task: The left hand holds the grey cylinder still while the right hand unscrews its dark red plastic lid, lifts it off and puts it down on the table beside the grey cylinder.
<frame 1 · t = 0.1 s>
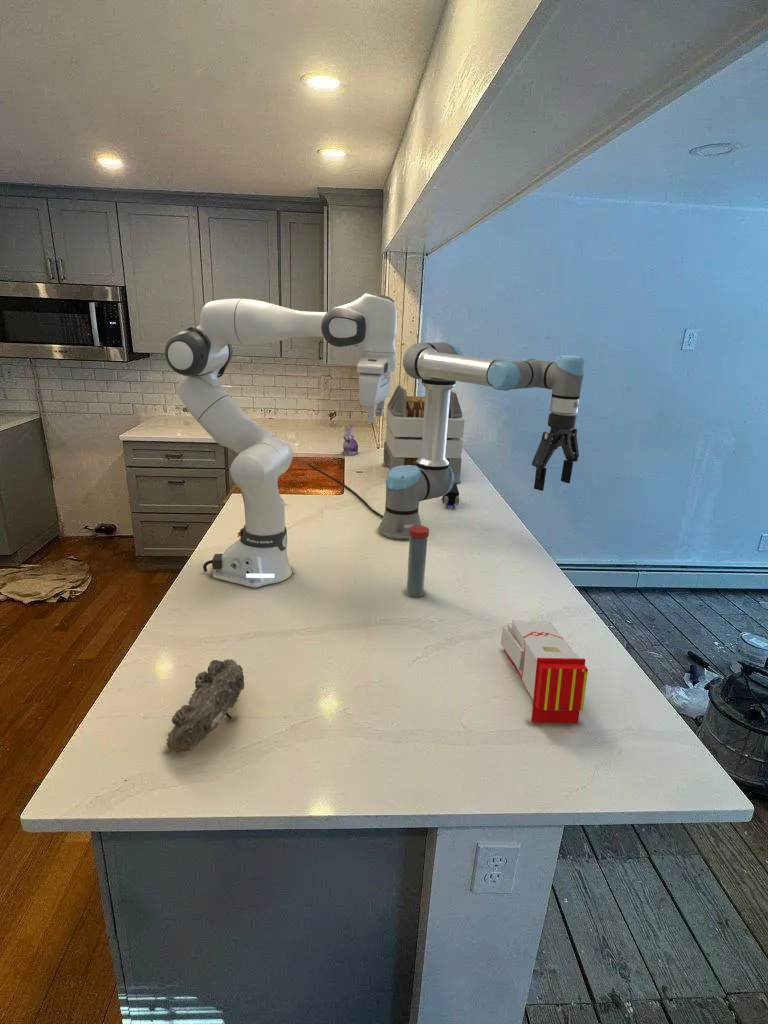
left hand: (375, 419, 145), 48 cm above the counter, tool pointing down, fingers open, 8 cm apart
right hand: (552, 485, 166), 28 cm above the counter, tool pointing down, fingers open, 13 cm apart
figurine character: (449, 504, 232), on the counter
toy: (534, 680, 123), on the counter
figurine: (350, 453, 305), on the counter
grey cylinder: (414, 593, 159), on the counter
fossil: (212, 717, 108), on the counter
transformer: (419, 473, 275), on the counter
lid: (419, 530, 152), point 19 cm above the counter, screwed on, not yet turned
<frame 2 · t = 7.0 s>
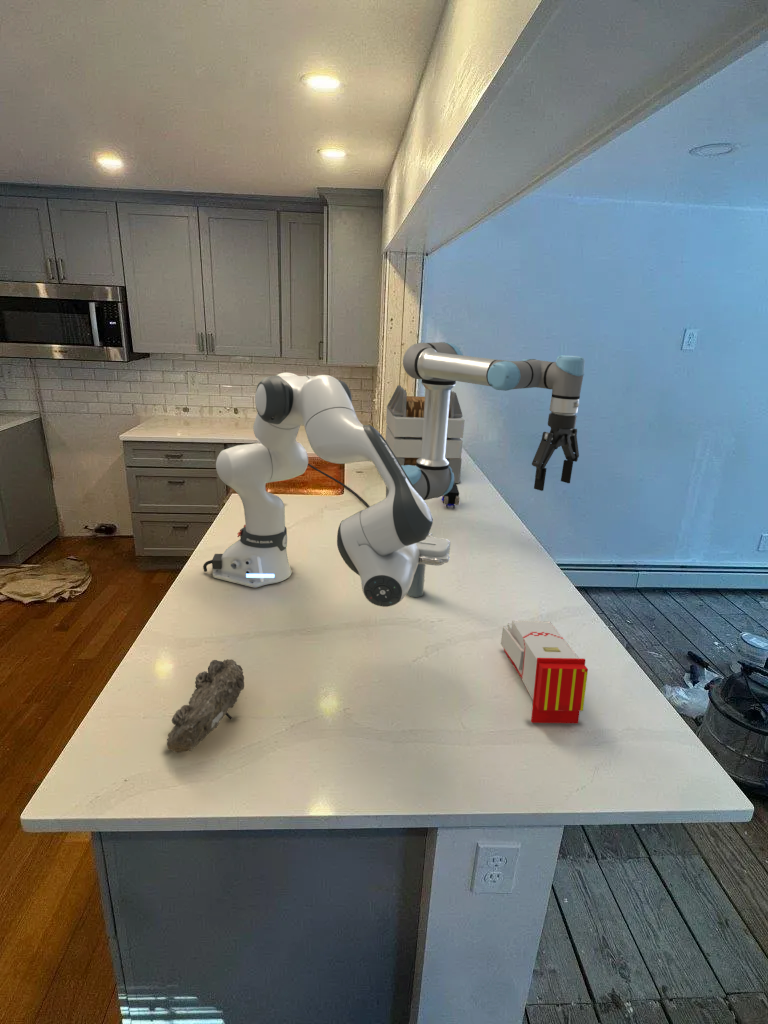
left hand: (408, 533, 129), 27 cm above the counter, tool horizontal, fingers open, 8 cm apart
right hand: (552, 485, 166), 28 cm above the counter, tool pointing down, fingers open, 13 cm apart
nothing on the counter moved.
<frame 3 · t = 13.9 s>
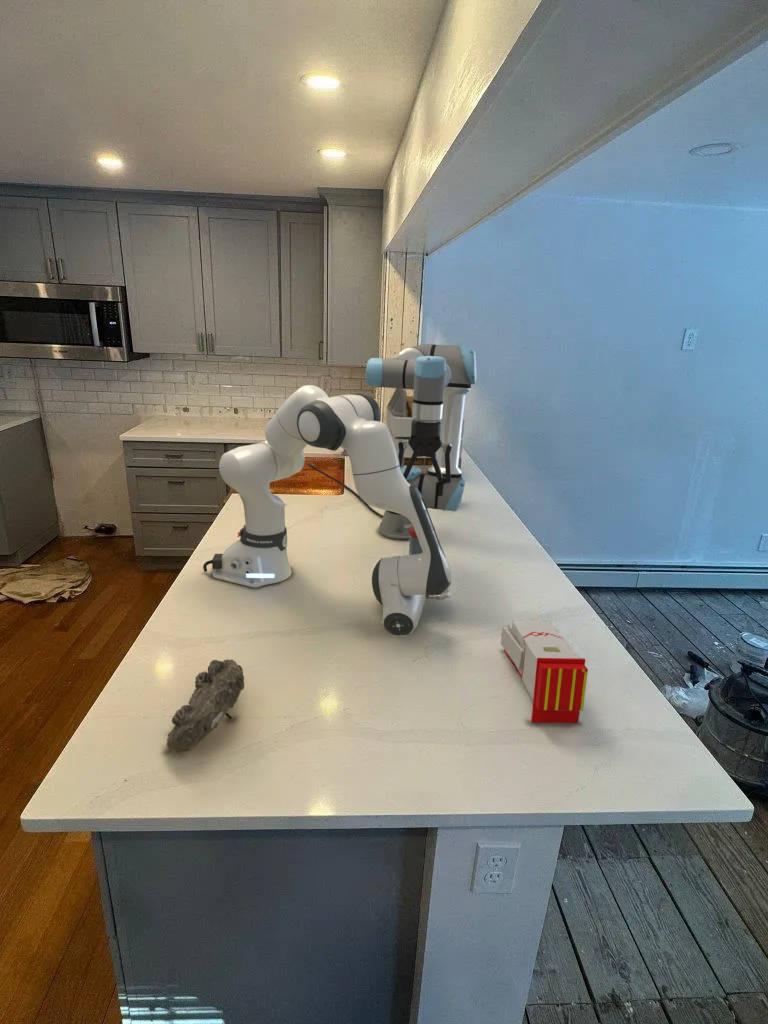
left hand: (416, 571, 157), 6 cm above the counter, tool horizontal, fingers closed on grey cylinder, 5 cm apart
right hand: (420, 505, 150), 26 cm above the counter, tool pointing down, fingers open, 7 cm apart
grey cylinder: (414, 593, 159), on the counter, touching left hand
everything else where it was.
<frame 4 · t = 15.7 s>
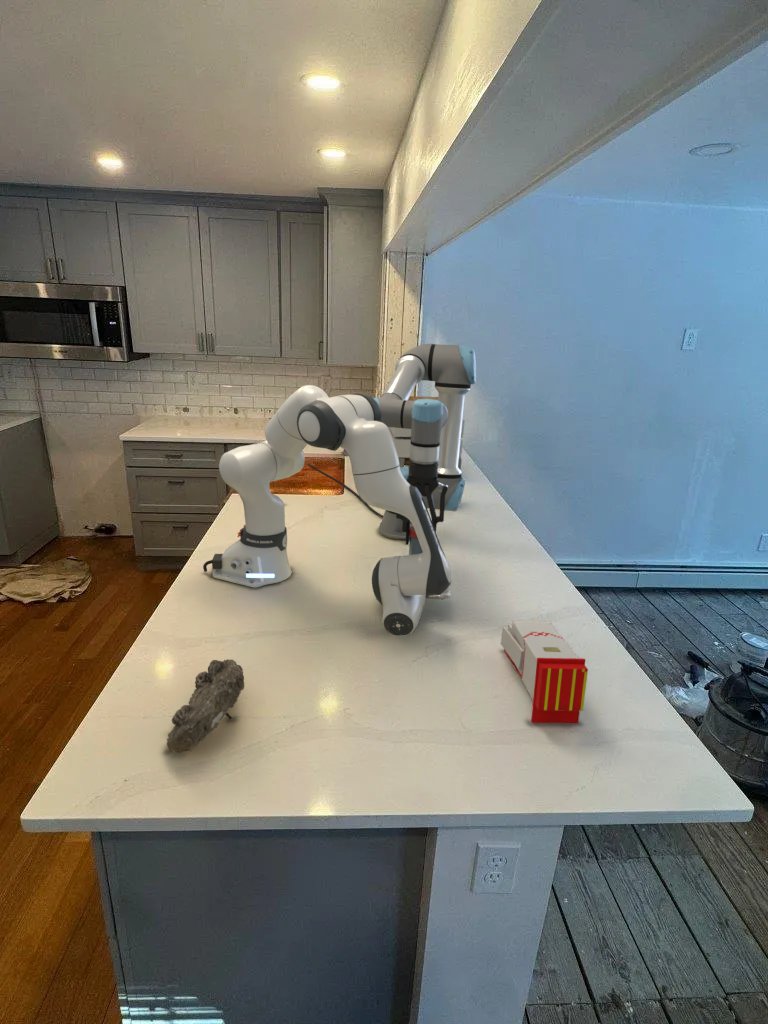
left hand: (416, 571, 157), 6 cm above the counter, tool horizontal, fingers closed on grey cylinder, 5 cm apart
right hand: (418, 543, 154), 15 cm above the counter, tool pointing down, fingers closed on lid, 5 cm apart
grey cylinder: (414, 593, 159), on the counter, touching left hand
lid: (419, 530, 152), point 19 cm above the counter, screwed on, not yet turned, touching right hand
everything else where it was.
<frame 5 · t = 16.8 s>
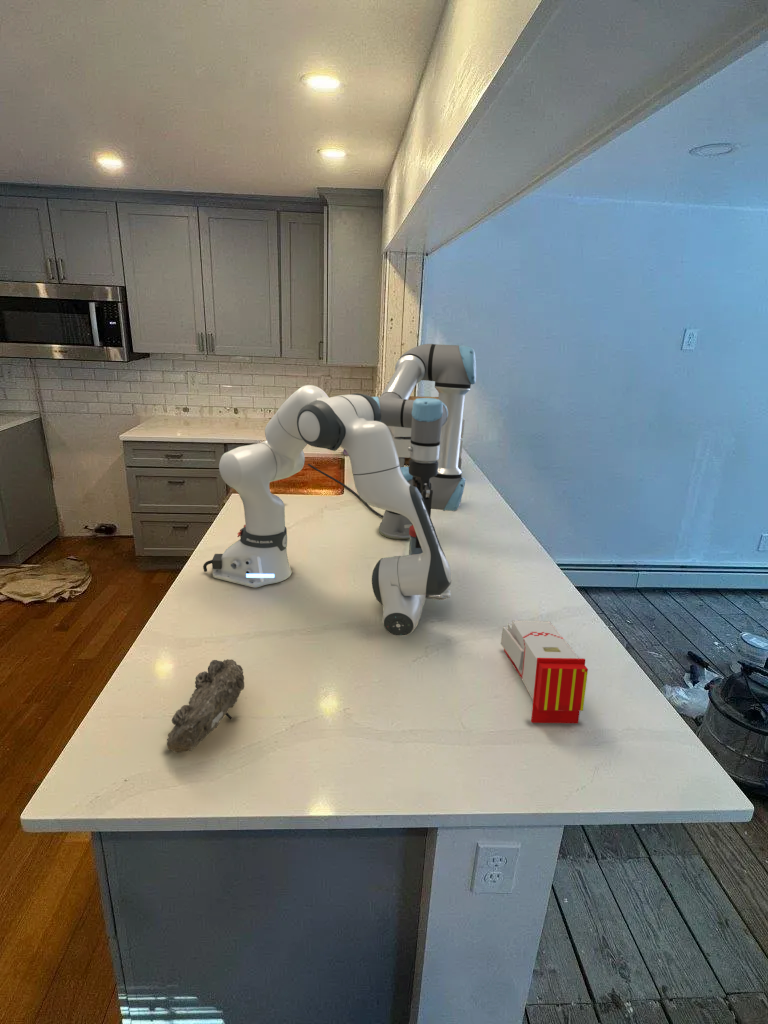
left hand: (416, 571, 157), 6 cm above the counter, tool horizontal, fingers closed on grey cylinder, 5 cm apart
right hand: (418, 542, 154), 15 cm above the counter, tool pointing down, fingers closed on lid, 5 cm apart
grey cylinder: (414, 593, 159), on the counter, touching left hand
lid: (419, 529, 152), point 19 cm above the counter, off its thread, touching right hand
everything else where it was.
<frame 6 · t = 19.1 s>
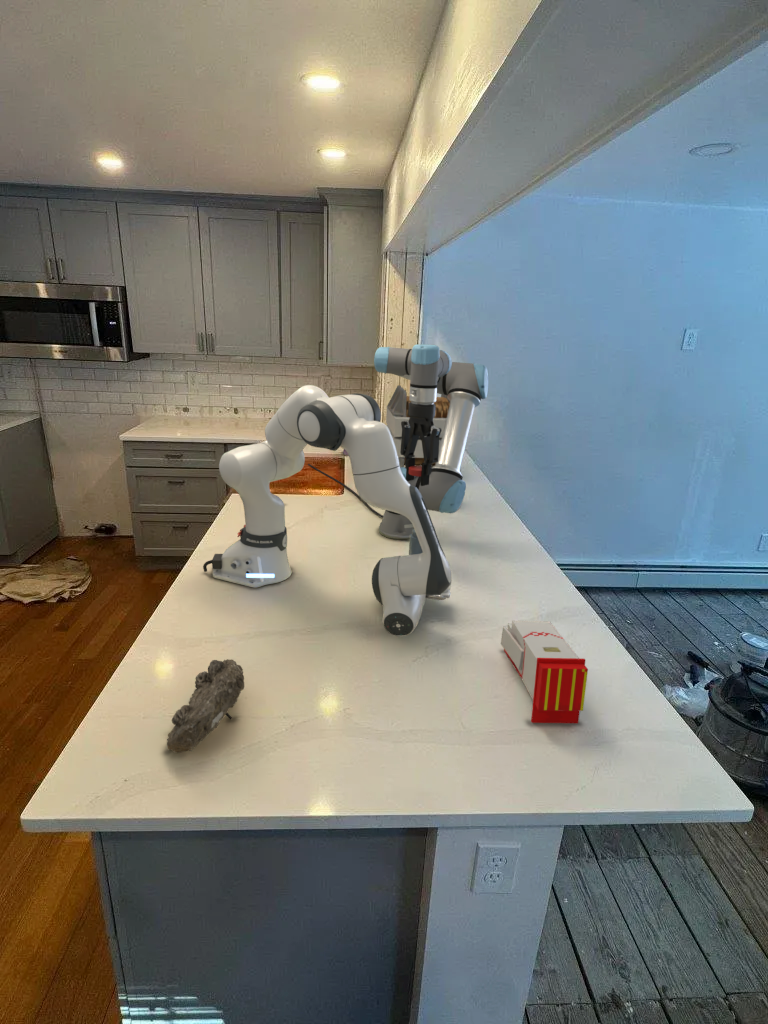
left hand: (416, 571, 157), 6 cm above the counter, tool horizontal, fingers closed on grey cylinder, 5 cm apart
right hand: (417, 482, 165), 27 cm above the counter, tool pointing down, fingers closed on lid, 5 cm apart
grey cylinder: (414, 593, 159), on the counter, touching left hand
lid: (417, 469, 164), point 31 cm above the counter, off its thread, touching right hand
everything else where it was.
when the right hand's fingers open (0 cm above the counter, at t = 23.8 s): lid drops 3 cm, point 1 cm above the counter.
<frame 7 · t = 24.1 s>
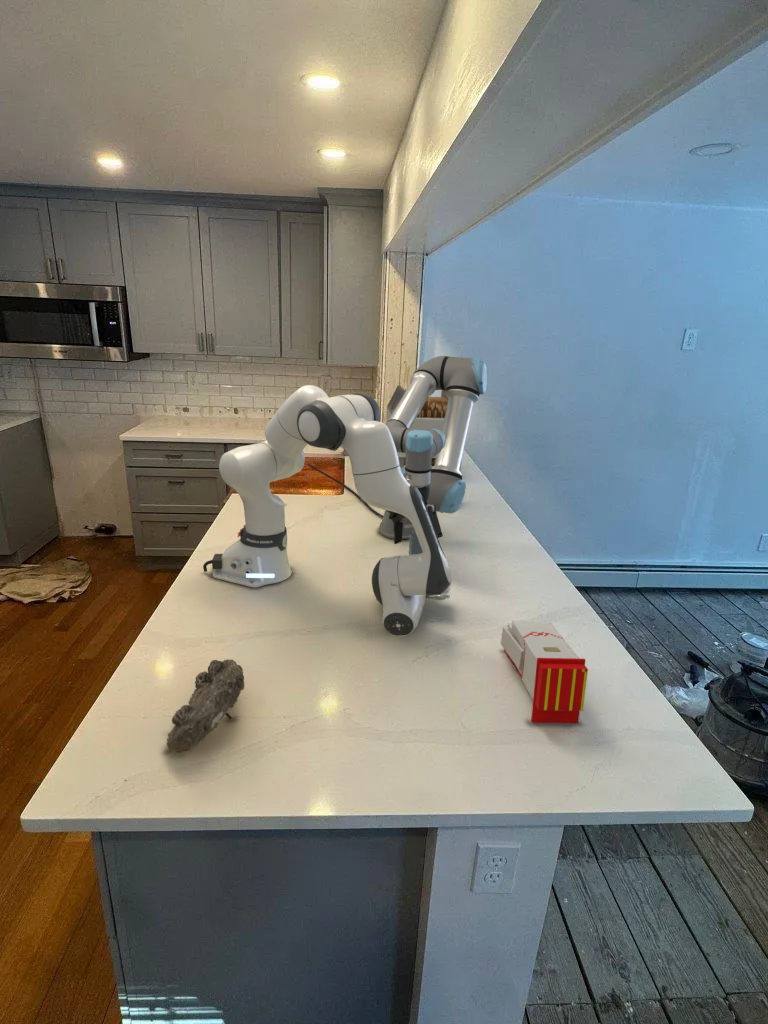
left hand: (416, 571, 157), 6 cm above the counter, tool horizontal, fingers closed on grey cylinder, 5 cm apart
right hand: (413, 549, 173), 6 cm above the counter, tool pointing down, fingers open, 13 cm apart
grey cylinder: (414, 593, 159), on the counter, touching left hand
lid: (411, 563, 174), point 1 cm above the counter, off its thread
everything else where it was.
when the left hand's fingers open (6 cm above the counter, at t = 24.4 s): grey cylinder stays where it is, on the counter.
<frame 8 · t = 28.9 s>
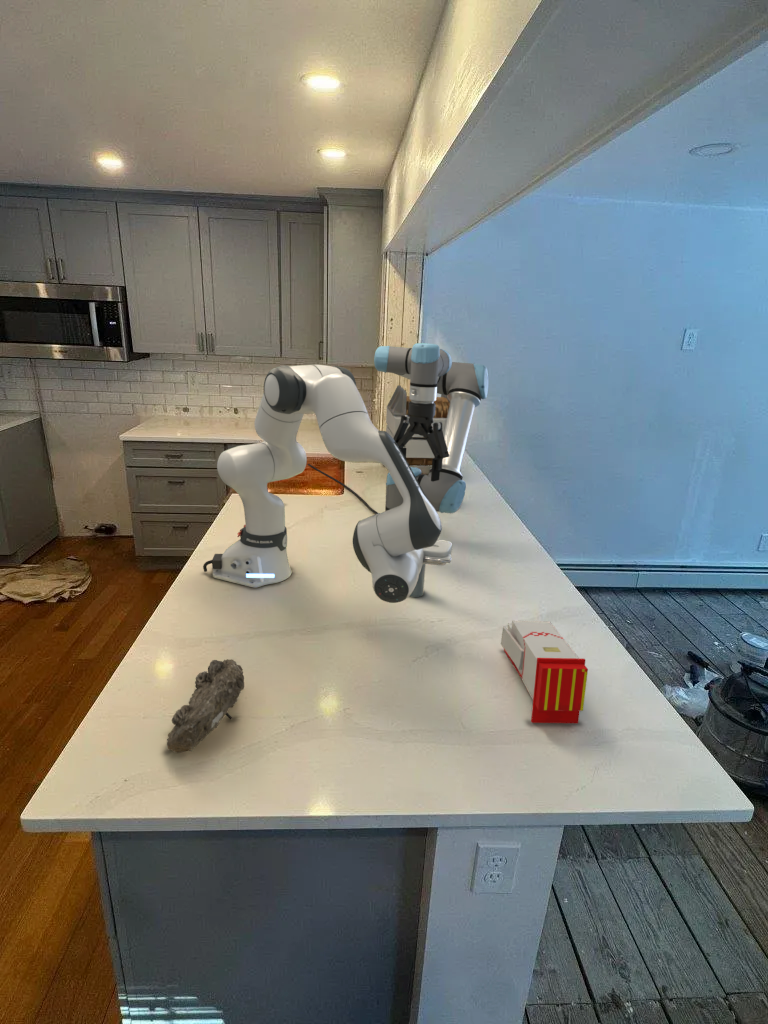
left hand: (413, 535, 140), 22 cm above the counter, tool horizontal, fingers open, 8 cm apart
right hand: (417, 475, 165), 29 cm above the counter, tool pointing down, fingers open, 13 cm apart
grey cylinder: (414, 593, 159), on the counter
everything else where it was.
at the end: lid came off its thread; lid point 1.4 cm above the counter; the left hand is holding nothing; the right hand is holding nothing; grey cylinder tilted 0°; grey cylinder moved 0.0 cm from its start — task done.
